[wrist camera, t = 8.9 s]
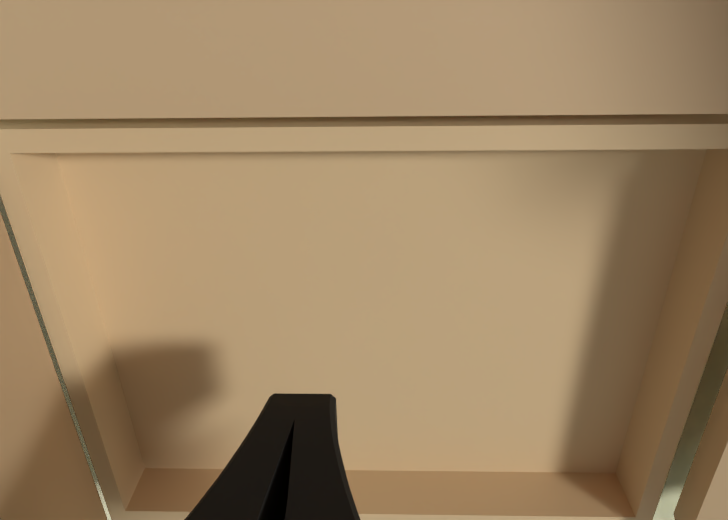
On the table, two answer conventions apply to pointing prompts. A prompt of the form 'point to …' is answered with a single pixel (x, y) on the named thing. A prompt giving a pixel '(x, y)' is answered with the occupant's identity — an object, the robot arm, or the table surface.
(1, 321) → the flap left
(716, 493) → the flap right
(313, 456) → the robot arm
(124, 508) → the carton
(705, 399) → the table surface
